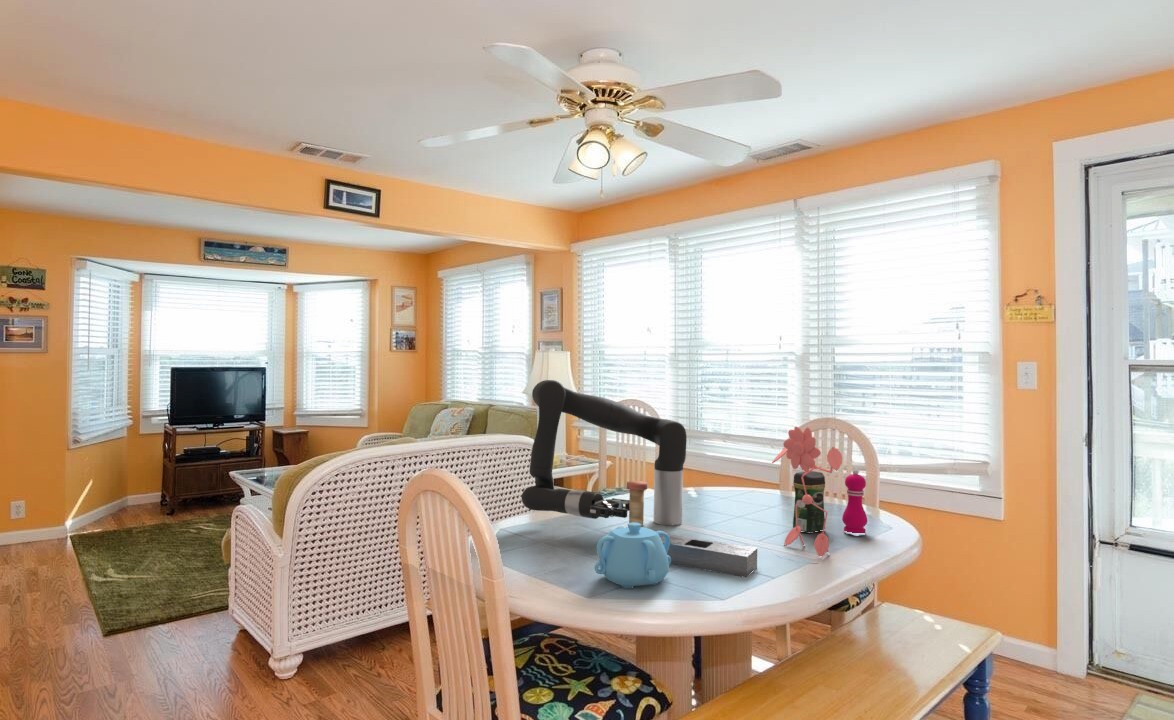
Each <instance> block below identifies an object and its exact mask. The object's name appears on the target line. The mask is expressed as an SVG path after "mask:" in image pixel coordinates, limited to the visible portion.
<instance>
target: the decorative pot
mask: <svg viewBox="0 0 1174 720" xmlns="http://www.w3.org/2000/svg"><path fill="white" fill-rule="evenodd" d="M668 534H669V533H667V532H665V531H663V530H656V531H655V530H653V529H651V528H648V527H644V526H643V527H641V524H640V523H629V522H628V523H627V527H625V526H617V527H615V528H613V529H611V530H610V531H609V533H608V535H604V536H602V537H600V538H599V540H598V541H597V543H596V552H597V555H598V556H597V557H598V559H599V561H598V562H596V563H595V565H594V572H595V573H597V574H599V575H603V576H604V577H605V578H606V579H608V581H610V582H612V583H614V584H616V585H619V586H620V585H621V588H623V587H624V588H623V589H625V588H631V589H633V588H634V586H657V585H658V583H659V582H662V581H663V580H664V579H665V578H666V576H667V574H668V573H669V567H670V565H671V558H670V556H669V555H667V552H668V549H669V546H670V537H669V535H668ZM659 535H663V536H664V537H665V542H664V545H663V543H662V540H661V538H660V536H659ZM632 587H633V588H632Z"/></svg>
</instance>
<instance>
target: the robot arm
mask: <svg viewBox="0 0 1174 720" xmlns="http://www.w3.org/2000/svg"><path fill="white" fill-rule="evenodd" d="M531 394H532V399H533V402H534V403H535V405H536V406H537V407H538V423H537V429H536V433H535V437H534V440H533V444H532V447H531V453H530V460H529V461H530V462H529V463H530V464H529V475H530V477H533V478H534V480H535V481H534V482H535V485H531V486H528V487H526V488H525V489H524V490H523V492H522V494H521V502H522V504H523V505H524V507H525V508H527V509H529V510H531V511H539V512H541V511H542V512H543V511H544V512H555V513H560V514H568V515H572V516H575V517H581V518H588V519H593V520H597V519H599V518H605V519H608V518H615V517H617V518H624V519H626V518H627V517H628V512H629V500H630V499H620V498H615V497H614V498H606V499H604V498H603V495H602V494H601V492H597V491H596V492H595V491H589V490H581V489H580V490H579V489H565V488H555V487H554V485H555V484H554V478H553V477H554V476H553V468H554V467H553V466H554V460H555V451H556V449H555V448H556V441H557V435H558V430H559V429H558V428H559V424H560V423H559V422H560V420H561V416H562V413H563V414H567V415H571V416H573V417H576V418H577V419H580V420H582V421H585V422H587V423H589V424H591V425H593V426H597V427H598V428H602V429H605V430H608V431H613V432H616V433H620V434H626V435H634V436H637V437H640V438H642V439H644V440H647V441H649V442H652V443H653V444H656V445H657V446H658V447H659V448H658V449H659V451H658V457H657V458H656V459H655V460H654V471H653V472H654V474H653V477H654V478H653V479H654V480H653V482H654V483H653V486H654V487H653V523H655V524H657V525H661V526H678V525H681V524H683V493H684V492H683V491H684V490H683V489H684V488H683V487H684V482H683V481H684V464H685V461H686V456H687V442H688V439H687V438H688V437H687V431H686V428H685V426H684V424H682V423H680V422H679V421H676V420H673V419H668V418H667V419H666V418H660V417H654V416H652V415H647V414H643V413H641V412H639V411H637V410H636V409H633V408H632V407H630V406H629V405H628V406H627V405H625V404H623V403H621V402H618V401H615V400H612V399H609V398H605V397H601V396H597V395H590V394H585V393H581V392H576V391H574V390H571V389H570V388H567V387H565V386H564V385H563V384H562V383H561V382H559V381H557V380H554V379H544V380H541V381H540V382H538V383H537V384H536V385H534V387H533V389H532V393H531Z"/></svg>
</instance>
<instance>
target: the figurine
mask: <svg viewBox="0 0 1174 720" xmlns="http://www.w3.org/2000/svg"><path fill="white" fill-rule="evenodd" d="M787 433H788V437H789V438H788V439H785V441H784V442H783V443H782V444H783V445H782V446H783V447H784V449H783V450H781V451H780V452H779V453H778V454H777V456H775V457H774V459H773V460H772V462H771V464H774V463H776V462H777V461H778V460H780V459H781V458H782V457H784V456H785V455H786V458H787V459H789V460H790V464H791V467H792V469H793V470H796V469H798V468H799V466H800V468H801V470H802V471H803V472H806V473H804V474H803V475H802V476H803V477H804V476H805V475H806V474H808V473H809V472H811V471H814V470H820V471H823V472H827V473H830V474H832V473H833V470H835V471H839V469H840V467H841V466H842V464H843V456H842V452H841V451H840V450H839V449H838V448H836V447H835V446H831V449H829V450H828V451H827V455H826V460H827V463H828V465H829V466H830V470H829V469H826V468H822V467H820V466H818V465H817V464H816V461H815V460H814V459H817V458H818V457H820V456H821V453H822V452H821V450H820V449H819V448H818V447H816V441H817V440H816V438H815V437H813V434H812V430H811V428H810V427H805V429H804V430H803V431H802V429H801V428H800V427H798V426H795V427H794V429H789V430H788V432H787ZM803 477H801V479H802V483H803V487H804V490H805V494H806V495H804V496H803V498H802V500H801V501H800V502H802V501H803V502H804V503H805V504H813V505H815V504H814V503H812V501H813V499H812V497H811V496H810V495H807V493H806V488H805V484H804V479H803ZM800 502H798V503H796V527H794V528H793V527H792V528H791V530H790V531H789V532H788V533H787V535H786V537H785V540H784V545H783V547H787V546H789V545H791V544H792V543H794V542H795V541H796V540H797V539H798V538H799V539H800V541H801V545H802V546H803V545H804V544H805V542H804V540H803V536H802V532H801V527H800V526H797V504H799V503H800ZM815 506H816V507H818V508H820V507H819V506H817V505H815ZM820 509H821V510H823V509H822V508H820ZM823 511H824V513H825V515H824V516H825V521H824V526H823V531H821V533H819V534H817V536H816V538H815V540H814V544H813V546H814V549H815V551H816V554H817V555H818V556H822V557H823V556H824V555H825V554H826V553H827V552H829V553H830V551H829V547H830V542H829V539H828V536H827V535H826V534H825V530H826V523H827V518H828V511H827V510H826V509H824V510H823ZM824 529H825V530H824Z"/></svg>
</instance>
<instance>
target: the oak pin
mask: <svg viewBox="0 0 1174 720" xmlns="http://www.w3.org/2000/svg"><path fill="white" fill-rule="evenodd" d="M626 489H627V490H629V499H628V500H629V511H628V512H629V513H628V515H629V516H628V523H640V524H641V527H644V509H645V508H644V507H645V506H644V505H645V502H644V501H645V491H646V490H648V482H646V481H640V480H632V481H626Z"/></svg>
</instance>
